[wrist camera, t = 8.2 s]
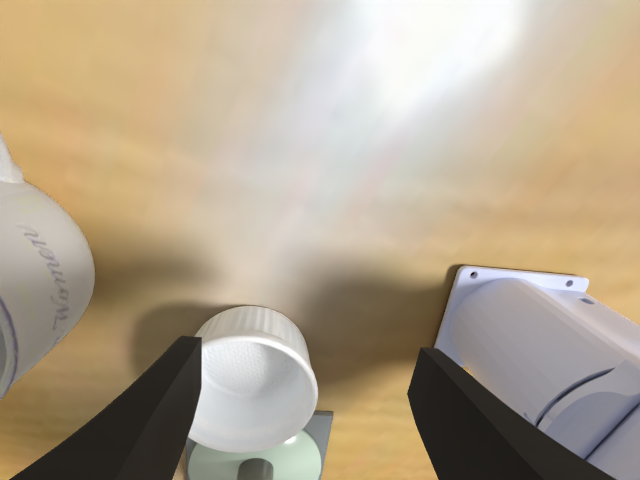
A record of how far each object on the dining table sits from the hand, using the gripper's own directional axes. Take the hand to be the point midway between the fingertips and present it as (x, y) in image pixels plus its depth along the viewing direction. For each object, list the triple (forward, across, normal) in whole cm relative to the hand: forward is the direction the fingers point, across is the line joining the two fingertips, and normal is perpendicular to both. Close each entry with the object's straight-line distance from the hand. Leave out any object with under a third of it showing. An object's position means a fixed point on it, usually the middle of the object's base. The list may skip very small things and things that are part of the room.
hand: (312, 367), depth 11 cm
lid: (+10, +2, +19) cm, 22 cm away
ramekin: (+11, +3, +8) cm, 14 cm away
